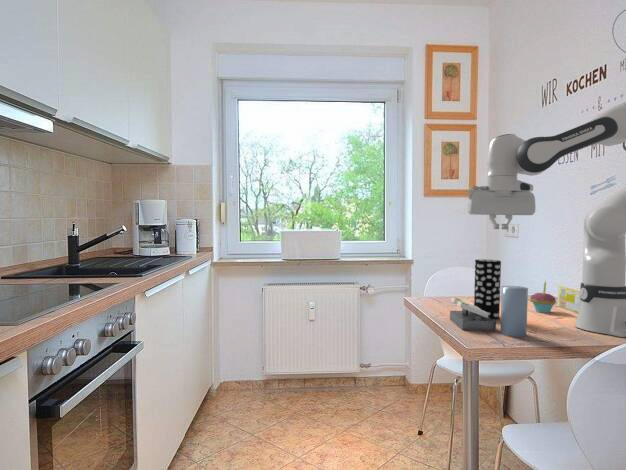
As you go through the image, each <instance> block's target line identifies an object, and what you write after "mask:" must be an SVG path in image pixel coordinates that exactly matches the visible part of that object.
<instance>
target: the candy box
mask: <svg viewBox="0 0 626 470" xmlns="http://www.w3.org/2000/svg"><path fill="white" fill-rule="evenodd" d="M557 289H558V290H557V301H556V302H557V303H556V304H557V305H556V306H557V307H559V308H562V309H563V310H564V309H565V310H568V311H571V312H573V313H576V314H579V309H580V304H581V299H580V290H578V289H573V288H569V287H565V286H558V288H557Z"/></svg>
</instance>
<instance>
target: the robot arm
mask: <svg viewBox="0 0 626 470" xmlns="http://www.w3.org/2000/svg"><path fill="white" fill-rule="evenodd" d="M624 143H626V101H624V102H621V103H619V104H617V105H614V106H612V107H610V108H608V109H606V110H605V111H602V112H601V113H599V114H598V115H596V116H595V117H593V118H592V119H591V120H589V121H588V122H585V123H583V124H580V125H579V126H577V127H573V128H571V129H568V130H565V131H563V132H561V133H558V134H555V135H552V136H535V137H530V138H529V139H527V140H525V139H523V138H520V137H519V136H518V135H516V134H515V133H508V134H507V133H505V134H501V135H498V136H496V137H495V138H493V139H492V140H491V141H490V143H489V145H488V150H487V151H488V152H487V163H486V164H487V168H488V171H487V175H486V185H481V186H479V185H478V186H477V185H474V186H472V187H470V188H469V189H468V192H467V193H468V197H467V198H468V199H469V200H468V205H467V213H468V214H469V215H470V216H471V215H473V216H475V215H477V216H478V215H484V216H486V215H487V216H489V217H488V219H489V220H490V222H491V224H492V230H499V229H500V223H497V221H496V218H497V216H505V217H504V218H505V219H506V220H505V222H504V223H501V230H509V224H510V223H511V221H512V220H513V216H533V215H534V214H535V213H536V197H535V195H534V192H533V191H534V184H531V183H529V182H525V181H522V180H519V179H518V174H520V175H526V176H538V175H540V174H542V173H543V172H545V171H546V170H548V169H549V168H551V167H552V166H553V165H554V164H555V163H556V162H557V161H558V160H559V159H561V158H562V157H564V156H567V155H569V154H571V153H572V154H573V153H574V152H577V151H581V150H582V149H586V148H588V147H591V146H595V145H602V146H606V147H612V146H616V145H621V144H624ZM583 221H584V222H583V241H582V242H583V243H582V244H583V246H582V249H583V251H582V253H583V254H582V277H581V279H582V281H581V282H580V288H579V291H580V299H581V304H580V309H579V313H577V314H578V315H577V318H576V319H575V320H576V321H575V323H574V326H575V327H577V328H579V329H580V330H584V331H588V332H592V333H598V334H604V335H609V336H614V337H620V338H626V184H624V185H622V186H621V187H620V188H619V189H618V190H616V191H615V192H614V193H612V194H611V195H609V196H608V197H607V198H606V199H605V200H603V201H602V202H601V203H599V204H598V205H596V206H595V207H594V208H593V209H592V210H590V211H589V212H588V213H587V215H586V216H585V217H584V220H583Z"/></svg>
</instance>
